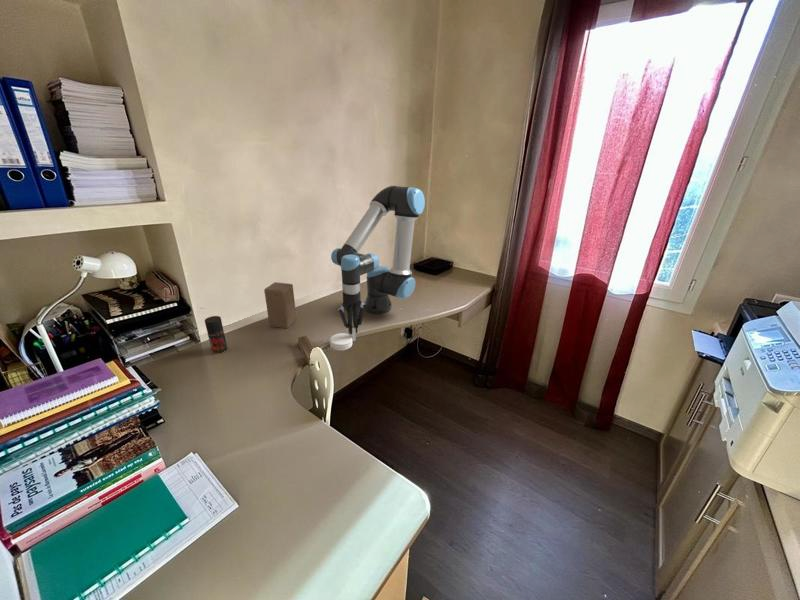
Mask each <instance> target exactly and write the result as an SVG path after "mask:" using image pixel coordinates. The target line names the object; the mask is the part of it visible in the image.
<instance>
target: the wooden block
mask: <svg viewBox="0 0 800 600" xmlns="http://www.w3.org/2000/svg"><path fill="white" fill-rule="evenodd" d="M263 291H264V292H263V293H264V297H265V304H266V311H267V319H268V324H269V326H270V327H275V328H280V329H281V328H282V329H288V328H290V327H291V326H292V325H293V324H294V323H295V322H296V321H297V309H296V303H295V294H294V285H293V283H286V282H273V283H272V284H270V285H269V286H267V287H266V288H264V290H263Z"/></svg>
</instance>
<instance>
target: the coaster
mask: <svg viewBox="0 0 800 600" xmlns="http://www.w3.org/2000/svg"><path fill="white" fill-rule="evenodd" d="M352 346H353V341H352V337H351V334H348V333H343V332H342V333H341V332H340V333H336V334H333V335H332V336H330V338H329V348H331V350H334V351H338V352H341V351H346V350H349V349H350V348H352Z"/></svg>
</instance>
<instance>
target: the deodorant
mask: <svg viewBox="0 0 800 600" xmlns="http://www.w3.org/2000/svg"><path fill="white" fill-rule="evenodd" d="M222 322H223V321H222V318H221V316H219V315H213V316H212V315H211V316H208V317H206V318H205V319H204V324H205V327H206V332H207V333H206V334H207V336H208V340H209V345H210V349H211V353H212V352H213V353H212V354H214V353H221V354H223V353H222V352H224V351H225V352H227V351H228V345H227V341H226V336H225V331H224V327H223V323H222ZM226 350H227V351H226ZM225 352H224V353H225Z"/></svg>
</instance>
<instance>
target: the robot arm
mask: <svg viewBox="0 0 800 600" xmlns="http://www.w3.org/2000/svg"><path fill="white" fill-rule="evenodd" d="M425 202H426V200H425V195H424V193H423V191H422V190H421V189H419V188H416V187H413V186H412V187H410V186H400V185H399V186H397V185H390V186H387V187H385V188H383V189H381V190H380V191H379V192H378V193H377V194H376V195H375V196H373V198H372V199H371V201H370V202H369V208H368V209H367V210H366V211H365V213H364V215H362V217H361V219H360V220H359V222H358V223H357V225H356V226H355V227H354V229H353V231H352V232H351V234H350V235H349V237H348V238H347V240H346V241H345V242H344V243H343V245H342V247H340V248H335V249H333V250H332V252H331V255H330V258H331V259H330V260H331V262H332V263H333V264H334V265H337V266H340V269H341V284H342V285H341V286H342V288H341V289H342V305H341V306H340V307H337V309H336V310H337V311H338V313H339V315H340V316H341V321H342V323H343V326H344V327H345V328H346V329H348V330H347V331H348V333H349V334H348V335H350V336H351V337H352V342H355V341H357V333H358V329H359V326H361V325H362V322H363V317H364V312H365V311H366V312H368V313H372V314H384V313H388V312H390V311H391V310H392V301H391V299H390V296H393V297H395V298H397V299H404V300H406V299H408V298H409V297H410V296H412V294H413V292H414V290H415V288H416V279H415V278H414V277H412V276H413V275H412V274H413V273H412V270H411V269H410V266H411V260H412V259H411V257H412V248H413V239H414V231H415V224H416V223H415V222H416V221H417V220H418V219H419V215H422V213H423V212H424V210H425V205H426V203H425ZM389 212H394V217H395V218H396V227H395V237H394V238H395V239H394V247H393V248H394V249H393V260H392V266H391V268H390V269H389V267H388V266H383V265H381V266H380V259H379V257H378V256H377V254H376V253H373V252H371V253H366V254H363V253H359V252H360V251H361V249H362V248H363V246H364V245H365V243H366V242H367V240H368V239H369V237H370V236H371V234H372V233H373V232H374V230H375V228H376V227H377V225H378V224H379V222H380V221H381V219H382V218H383V217H385V216H387V214H388V213H389ZM365 274H366V292H367V293H366V297H365V300H364V302H362V300H361V299H362V298H361V297H362V296H361V276H362V275H365ZM345 311H346V315H347V318H346V315H345Z"/></svg>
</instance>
